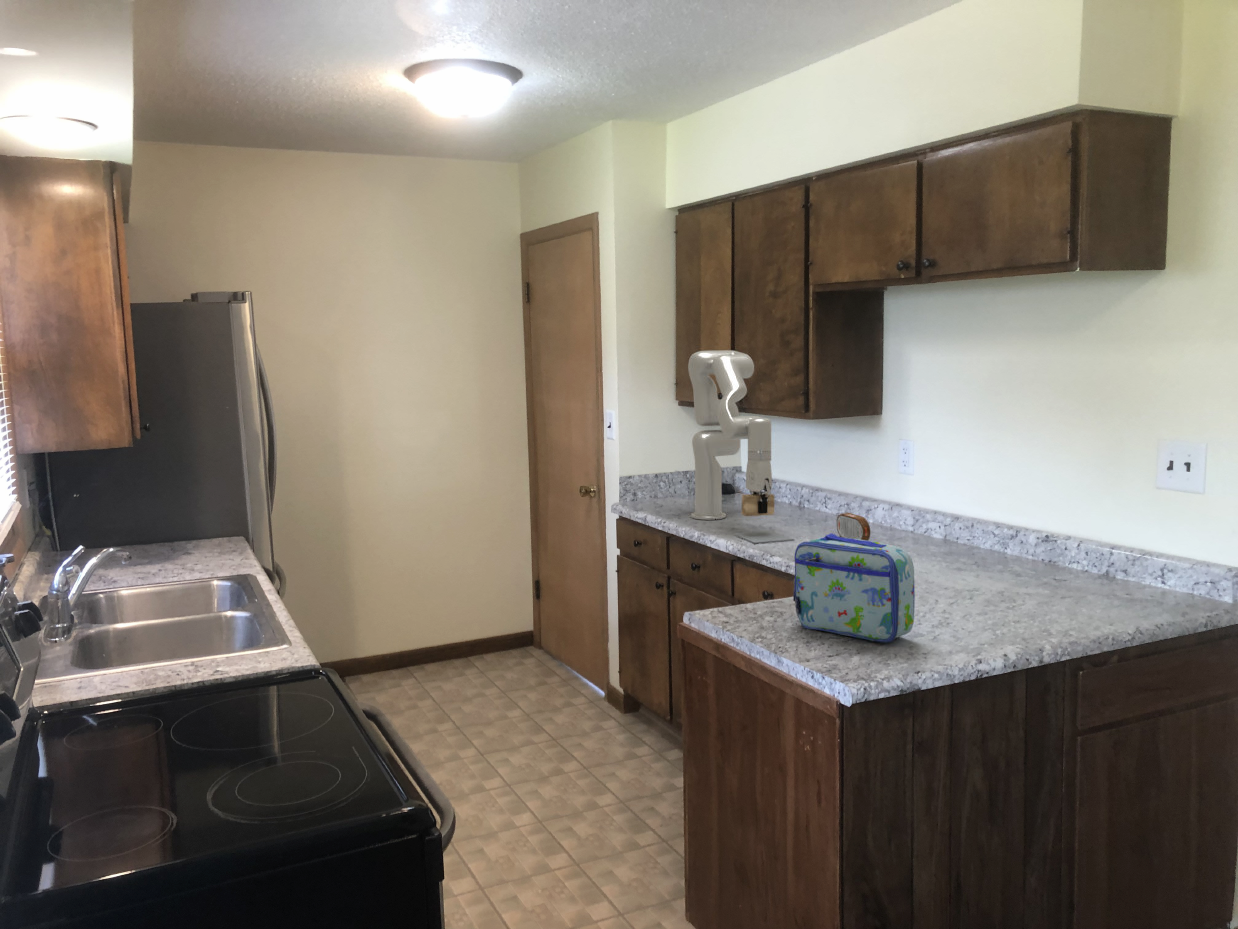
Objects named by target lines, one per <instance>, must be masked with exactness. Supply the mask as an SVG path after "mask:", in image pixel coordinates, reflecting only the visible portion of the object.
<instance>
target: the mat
mask: <svg viewBox="0 0 1238 929" xmlns="http://www.w3.org/2000/svg"><path fill="white" fill-rule="evenodd" d="M734 535H735V536H734ZM733 536H734V537H736V538H739V537H740V538H739V539H741V538H743V539H742V540H744V539H745V540H744V541H746V540H747V541H746V542H748V541H749V542H748V543H751V542H752V543H751V544H753V543H754V545H758V544H757V543H761V544H768V543H767V542H772V543H780V542H781V543H782V542H793V541H795V539H794V538H793V537H790V536H788V535H784V534H782V533H780V532H776V531H775V530H771V529H770V530H762V531H761V530H760V531H752V532H740V533H739V532H737V533H733Z"/></svg>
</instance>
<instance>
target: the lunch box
mask: <svg viewBox="0 0 1238 929" xmlns="http://www.w3.org/2000/svg"><path fill="white" fill-rule="evenodd" d="M793 584H794V585H793V598H792V599H793V602H794V605H795V614H796V615H797V618H798V622H800V624H801V625H802V627H803V628H805V629H807V630H816V631H817V630H818V631H823V632H828V633H833V634H837V635H841V636H846V637H847V636H848V637H851V638H856V639H861V640H868V641H871V642H878V643H886V644H888V643H891V642H893V641H894V640H895V639H896V638H899V637H903V636H904V635H907V634H909V633H910V632H911V631H912V629H913V627H914V621H915V593H916V592H915V566H914V562H913V560H912V557H911V555H910V554H909V552H907V551H906V550H905V549H903V548H901V547H898V546H897V545H896V546H895V545H891V544H889V543H883V542H879V541H872V540H868V541H866V540H859V539H851V538H842V537H841V536H837V535H836V534H834V533H833V532H832V533H828V534H826V535H825V536H822V537H818V538H816V539H811V540H808V541H803V542H800V543H799V544H798V545H797V546H796V549H795V551H794V578H793Z"/></svg>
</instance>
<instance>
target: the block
mask: <svg viewBox="0 0 1238 929" xmlns="http://www.w3.org/2000/svg"><path fill="white" fill-rule="evenodd" d="M763 494H764V493H762V495H763ZM758 501H759V494H751V493H750V494H749V493H748V494H741V515H742V516H745V517H756V516H774V515H775V494H773V493H771V495H770V496H769V497H768V501H767V513H763V514H759V513H758Z"/></svg>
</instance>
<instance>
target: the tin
mask: <svg viewBox="0 0 1238 929" xmlns="http://www.w3.org/2000/svg"><path fill="white" fill-rule="evenodd" d="M836 530H837V533H838V535H839V537H842V538H851V539H859V540H866V541H870V537H871V527H870V524H869V522H868V520H867V519H866V518H865V517H864V516H863V515H862V516H861V515H858V514H854V513H852V512H844V513H840V514H838V516H837V517H836Z"/></svg>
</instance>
